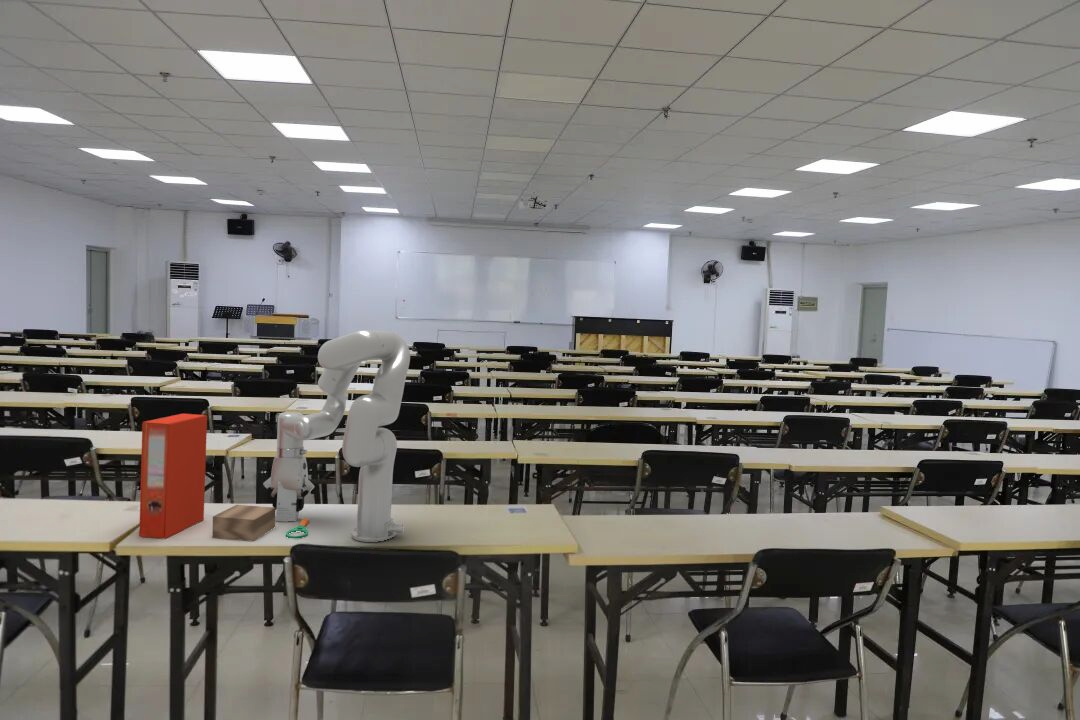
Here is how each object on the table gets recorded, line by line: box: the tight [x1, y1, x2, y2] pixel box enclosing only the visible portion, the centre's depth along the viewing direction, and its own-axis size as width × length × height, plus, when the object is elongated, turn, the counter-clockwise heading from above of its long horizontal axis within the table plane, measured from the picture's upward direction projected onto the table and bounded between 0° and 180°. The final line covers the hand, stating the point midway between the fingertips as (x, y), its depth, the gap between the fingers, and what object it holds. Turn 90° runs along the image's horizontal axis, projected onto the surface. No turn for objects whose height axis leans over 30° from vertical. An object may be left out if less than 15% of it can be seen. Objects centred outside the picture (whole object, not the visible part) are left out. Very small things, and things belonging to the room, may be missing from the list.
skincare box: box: [275, 482, 300, 522], centre depth 197 cm, size 6×4×12 cm
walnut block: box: [211, 504, 276, 541], centre depth 184 cm, size 12×12×6 cm
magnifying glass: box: [285, 517, 310, 539], centre depth 188 cm, size 15×6×2 cm, turn 9°
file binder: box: [138, 413, 208, 540], centre depth 184 cm, size 8×17×32 cm, turn 176°
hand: (288, 509), depth 197 cm, fingers closed on skincare box, 6 cm apart
